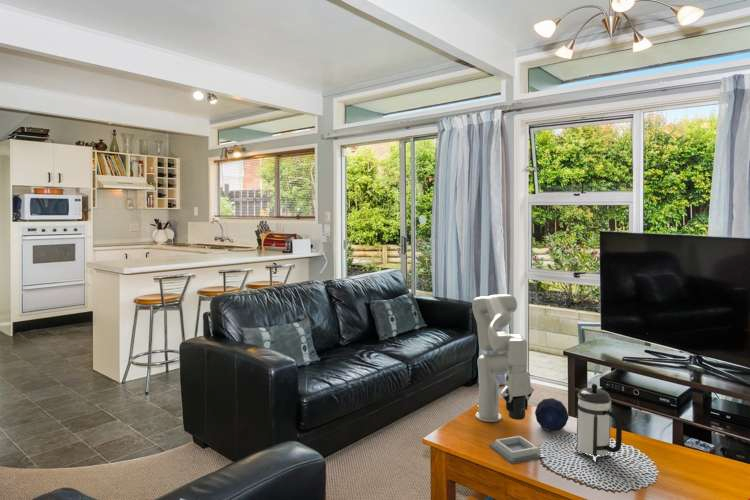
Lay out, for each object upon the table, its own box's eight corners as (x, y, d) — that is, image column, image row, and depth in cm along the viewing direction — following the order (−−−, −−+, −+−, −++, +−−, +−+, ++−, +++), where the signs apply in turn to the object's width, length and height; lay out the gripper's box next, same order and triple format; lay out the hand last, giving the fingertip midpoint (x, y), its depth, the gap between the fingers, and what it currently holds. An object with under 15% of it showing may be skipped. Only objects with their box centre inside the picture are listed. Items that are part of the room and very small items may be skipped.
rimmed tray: (489, 446, 215) (489, 438, 215) (520, 441, 220) (521, 433, 220) (511, 463, 200) (511, 455, 200) (544, 457, 205) (544, 449, 205)
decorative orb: (580, 421, 229) (563, 390, 235) (560, 429, 220) (543, 397, 227) (558, 431, 238) (543, 401, 245) (538, 439, 230) (523, 408, 237)
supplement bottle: (526, 420, 205) (526, 392, 205) (508, 419, 207) (509, 391, 206) (524, 414, 212) (524, 386, 211) (507, 413, 213) (508, 385, 213)
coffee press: (573, 460, 202) (575, 388, 201) (573, 444, 217) (574, 376, 215) (620, 468, 196) (623, 393, 194) (617, 451, 211) (619, 381, 209)
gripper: (504, 372, 202) (504, 415, 203) (540, 368, 208) (539, 410, 209) (494, 367, 209) (494, 409, 210) (529, 363, 215) (528, 404, 216)
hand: (516, 409), depth 209 cm, fingers closed on supplement bottle, 6 cm apart
